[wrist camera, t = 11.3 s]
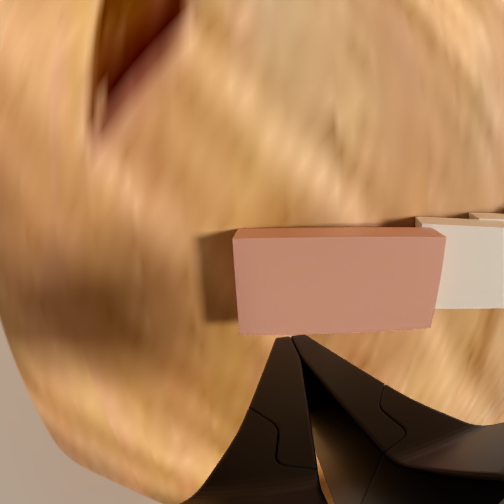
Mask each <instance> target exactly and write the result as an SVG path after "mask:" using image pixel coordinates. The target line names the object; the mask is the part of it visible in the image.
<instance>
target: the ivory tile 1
mask: <svg viewBox="0 0 504 504" xmlns="http://www.w3.org/2000/svg"><path fill="white" fill-rule="evenodd" d="M415 227H428V228H433V229H435V230H436V231H438V232H439V233H441V234H443V235H444V236H446V244H445V252H444V259H443V266H442V272H441V278H440V284H439V290H438V295H437V300H436V305H435V309H482V308H504V221H493V220H477V219H460V218H439V217H415Z"/></svg>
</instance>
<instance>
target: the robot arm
mask: <svg viewBox="0 0 504 504" xmlns="http://www.w3.org/2000/svg"><path fill="white" fill-rule="evenodd" d="M315 451H316V454H317V457H318V460H319V462H320V465H321V468H322V470H323V473H324V476H325V479H326V481H327V484H328V487H329V489H330V492H331V495H332V498H333V500H334V503H335V504H504V423H499V424H494V425H485V426H481V425H473V424H469V423H466V422H463V421H461V420H458V419H456V418H453V417H451V416H449V415H446V414H444V413H442V412H439V411H437V410H434V409H432V408H430V407H428V406H425V405H423V404H421V403H419V402H417V401H415V400H413V399H411V398H409V397H407V396H405V395H403V394H401V393H400V392H398V391H396V390H394V389H393V388H391V387H389V386H388V385H385V386H384V383H382V382H381V381H379V380H377V379H376V378H374V377H372V376H371V375H369V374H367V373H366V372H364V371H363V370H361V369H359V368H358V367H356V366H354V365H353V364H351V363H349V362H348V361H346V360H345V359H343V358H341V357H340V356H338V355H337V354H335V353H333V352H332V351H330V350H329V349H327V348H325V347H324V346H322V345H321V344H319V343H318V342H316V341H314V340H313V339H311V338H310V337H308V336H307V335H296V336H292V337H291V338H290V337H281V338H276V339H275V342H274V344H273V347H272V350H271V352H270V355H269V358H268V360H267V363H266V366H265V368H264V371H263V373H262V376H261V378H260V381H259V383H258V386H257V389H256V391H255V394H254V396H253V399H252V401H251V404H250V406H249V409H248V410H247V413H246V415H245V418H244V420H243V422H242V424H241V426H240V428H239V431H238V433H237V434H236V436H235V438H234V439H233V441H232V443H231V444H230V446H229V448H228V449H227V451H226V452H225V454H224V455H223V457H222V458H221V460H220V461H219V463H218V464H217V465H216V467H215V468H214V470H213V471H212V473H211V474H210V476H209V477H208V478H207V480H206V481H205V483H204V484H203V485H202V486H201V488H200V489H199V490H198V491H197V492H196V493H195V494H194V495H193V496H192V497H190V498H189V499H188V500H186V501H184V502H182V503H180V504H328V503H327V501H326V499H325V496H324V494H323V492H322V490H321V486H320V482H319V476H318V471H317V470H318V468H317V461H316V454H315Z"/></svg>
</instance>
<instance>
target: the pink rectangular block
mask: <svg viewBox="0 0 504 504" xmlns="http://www.w3.org/2000/svg"><path fill="white" fill-rule="evenodd" d="M232 241H233V256H234V270H235V284H236V297H237V310H238V323H239V334H264V335H296V334H340V333H363V332H380V331H395V330H408V329H420V328H430V327H431V323H432V319H433V314H434V310H435V305H436V300H437V295H438V290H439V284H440V278H441V272H442V266H443V259H444V252H445V244H446V236H444V235H443V234H441V233H439V232H438V231H436V230H435V229H433V228H428V227H311V228H250V229H238V230H237V232H236V233H235V235H234V237H233V238H232Z"/></svg>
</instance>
